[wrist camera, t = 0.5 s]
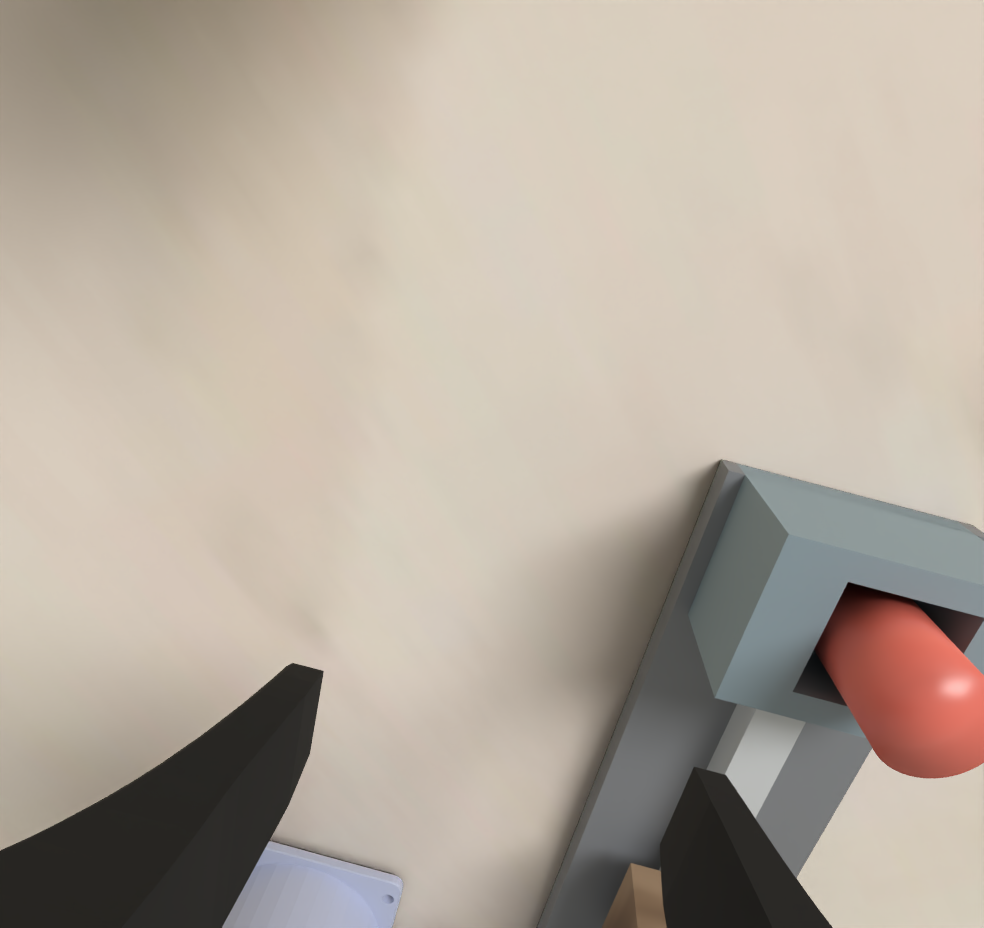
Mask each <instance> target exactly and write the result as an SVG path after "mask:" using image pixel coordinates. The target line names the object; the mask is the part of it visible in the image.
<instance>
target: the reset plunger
mask: <svg viewBox="0 0 984 928" xmlns="http://www.w3.org/2000/svg"><path fill="white" fill-rule="evenodd" d="M814 650H815V652H816V654H817V655H818V657H819V659H820V661H821V662H822V664H823V666H824V667H825V669H826V671H827V672H828V674H829V676H830V677H831V679H832V681H833V682H834V684H835V686H836V687H837V689H838V691H839V693H840V694H841V696H842V698H843V699H844V701H845V703H846V704H847V706H848V708H849V709H850V711H851V713H852V714H853V716H854V718H855V719H856V721H857V723H858V724H859V726H860V728H861V730H862V731H863V733H864V735H865V736H866V738H867V740H868V741H869V743H870V745H871V746H872V748H873V750H874V751H875V753H876V754H877V756H878V757H879V758H880V759H881V760H882V761H883V762H884V763H885V764H886V765H887V766H889V767H891V768H892V769H894V770H896V771H898V772H900V773H903V774H906V775H909V776H914V777H920V778H944V777H949V776H954V775H958V774H961V773H964V772H967V771H969V770H971V769H973V768H975V767H977V766H979V765H981V764H982V763H984V675H983V674H982V673H981V672H980V671H979V670H978V669H977V668H976V667H975V666H974V665H973V664H972V662H971V661H970V660H969V659H968V658H967V657H966V656H965V655H964V654H963V653H962V652H961V651H960V650H959V649H958V648H957V646H956V645H955V644H954V643H953V642H952V641H951V640H950V639H949V638H948V637H947V636H946V635H945V634H944V633H943V632H942V631H941V629H940V628H939V627H938V626H937V625H936V624H935V623H934V622H933V621H932V620H931V619H930V618H929V617H928V616H927V615H926V614H925V612H924V611H923V610H922V609H921V608H920V607H919V606H918V605H917V604H916V603H915V602H914V601H913V600H912V599H911V598H907V597H904V596H900V595H896V594H892V593H888V592H885V591H881V590H877V589H873V588H870V587H866V586H862V585H858V584H854V583H851V582H848V583H847V585H846V587H845V589H844V591H843V593H842V595H841V597H840V599H839V601H838V603H837V605H836V607H835V609H834V611H833V613H832V615H831V617H830V619H829V621H828V623H827V625H826V627H825V629H824V631H823V633H822V635H821V637H820V639H819V641H818V643H817V644H816V646H815V648H814Z"/></svg>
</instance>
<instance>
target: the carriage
mask: <svg viewBox="0 0 984 928" xmlns="http://www.w3.org/2000/svg"><path fill="white" fill-rule="evenodd" d="M602 928H667V926H666V920H665V914H664V907H663V897H662V882H661V871H659V870H655V869H652V868H648V867H644V866H641V865H637V864H633V863H630V866H629V868H628V870H627V872H626V875H625V877H624V879H623V881H622V884H621V886H620V888H619V890H618V893H617V895H616V897H615V899H614V901H613V904H612V906H611V908H610V910H609V913H608V915H607V917H606V919H605V922H604V924H603V926H602Z"/></svg>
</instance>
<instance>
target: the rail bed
mask: <svg viewBox="0 0 984 928" xmlns="http://www.w3.org/2000/svg"><path fill="white" fill-rule="evenodd" d="M848 582H851V583H854V584H858V585H862V586H866V587H870V588H873V589H877V590H881V591H885V592H888V593H892V594H896V595H900V596H904V597H907V598H911V599H912V600H913V601H914V602H915V603H916V604H917V605H918V606H919V607H920V608H921V609H922V610H923V611H924V612H925V614H926V615H927V616H928V617H929V618H930V619H931V620H932V621H933V622H934V623H935V624H936V625H937V626H938V627H939V628H940V629H941V631H942V632H943V633H944V634H945V635H946V636H947V637H948V638H949V639H950V640H951V641H952V642H953V643H954V644H955V645H956V646H957V648H958V649H959V650H960V651H961V652H962V653H963V654H964V655H965V656H966V657H967V658H968V659H969V660H970V661H971V662H972V664H973V665H974V666H975V667H976V668H977V669H978V670H979V671H980V672H981V673H982V674H983V675H984V533H983V532H981V531H980V530H979V529H977V528H976V527H975V526H973V525H969V524H965V523H961V522H958V521H954V520H950V519H946V518H942V517H939V516H935V515H931V514H927V513H923V512H920V511H916V510H912V509H908V508H904V507H901V506H897V505H893V504H889V503H885V502H882V501H878V500H874V499H870V498H866V497H862V496H859V495H855V494H851V493H847V492H843V491H840V490H836V489H832V488H828V487H824V486H821V485H817V484H813V483H809V482H805V481H802V480H798V479H794V478H790V477H786V476H782V475H779V474H775V473H771V472H767V471H763V470H760V469H756V468H752V467H748V466H744V465H741V464H737V463H733V462H729V461H725V460H722V459H721V461H720V464H719V466H718V469H717V471H716V474H715V476H714V479H713V481H712V484H711V487H710V489H709V492H708V494H707V497H706V499H705V502H704V504H703V507H702V509H701V512H700V515H699V517H698V520H697V522H696V525H695V527H694V530H693V532H692V535H691V537H690V540H689V542H688V545H687V548H686V550H685V553H684V555H683V558H682V560H681V563H680V565H679V568H678V570H677V573H676V576H675V578H674V581H673V583H672V586H671V588H670V591H669V593H668V596H667V598H666V601H665V603H664V606H663V609H662V611H661V614H660V616H659V619H658V621H657V624H656V626H655V629H654V631H653V634H652V636H651V639H650V642H649V644H648V647H647V649H646V652H645V654H644V657H643V659H642V662H641V664H640V667H639V670H638V672H637V675H636V677H635V680H634V682H633V685H632V687H631V690H630V692H629V695H628V697H627V700H626V703H625V705H624V708H623V710H622V713H621V715H620V718H619V720H618V723H617V725H616V728H615V730H614V733H613V736H612V738H611V741H610V743H609V746H608V748H607V751H606V753H605V756H604V758H603V761H602V764H601V766H600V769H599V771H598V774H597V776H596V779H595V781H594V784H593V786H592V789H591V791H590V794H589V797H588V799H587V802H586V804H585V807H584V809H583V812H582V814H581V817H580V819H579V822H578V824H577V827H576V830H575V832H574V835H573V837H572V840H571V842H570V845H569V847H568V850H567V852H566V855H565V858H564V860H563V863H562V865H561V868H560V870H559V873H558V875H557V878H556V880H555V883H554V885H553V888H552V891H551V893H550V896H549V898H548V901H547V903H546V906H545V908H544V911H543V913H542V916H541V918H540V921H539V924H538V926H537V928H602V926H603V924H604V922H605V919H606V917H607V915H608V913H609V910H610V908H611V906H612V904H613V901H614V899H615V897H616V895H617V893H618V890H619V888H620V886H621V884H622V881H623V879H624V877H625V875H626V872H627V870H628V868H629V866H630V863H633V864H637V865H641V866H644V867H648V868H652V869H655V870H659V871H661V861H660V843H661V841H662V838H663V836H664V834H665V831H666V829H667V827H668V825H669V822H670V820H671V818H672V816H673V813H674V811H675V809H676V806H677V804H678V802H679V800H680V797H681V795H682V793H683V790H684V788H685V786H686V784H687V781H688V779H689V777H690V775H691V772H692V770H693V768H694V767H698V768H701V769H705V770H709V771H713V772H717V773H721V774H725V775H726V776H727V777H728V779H729V780H730V782H731V783H732V784H733V786H734V787H735V789H736V790H737V792H738V793H739V795H740V796H741V798H742V799H743V801H744V802H745V804H746V805H747V807H748V808H749V810H750V811H751V813H752V814H753V816H754V817H755V819H756V820H757V822H758V823H759V825H760V826H761V828H762V829H763V831H764V832H765V834H766V835H767V837H768V838H769V840H770V841H771V843H772V844H773V846H774V847H775V849H776V850H777V851H778V853H779V854H780V856H781V857H782V859H783V860H784V862H785V863H786V865H787V866H788V867H789V869H790V870H791V872H792V873H793V875H794V876H795V877H796V878H797V876H798V874H799V873H800V871H801V869H802V867H803V866H804V864H805V862H806V860H807V859H808V857H809V855H810V854H811V852H812V850H813V848H814V847H815V845H816V843H817V842H818V840H819V838H820V836H821V835H822V833H823V831H824V830H825V828H826V826H827V824H828V823H829V821H830V819H831V818H832V816H833V814H834V812H835V811H836V809H837V807H838V806H839V804H840V802H841V800H842V799H843V797H844V795H845V794H846V792H847V790H848V788H849V787H850V785H851V783H852V782H853V780H854V778H855V776H856V775H857V773H858V771H859V770H860V768H861V766H862V764H863V763H864V761H865V759H866V758H867V756H868V754H869V752H870V751H871V749H872V746H871V745H870V743H869V741H868V740H867V738H866V736H865V735H864V733H863V731H862V730H861V728H860V726H859V724H858V723H857V721H856V719H855V718H854V716H853V714H852V713H851V711H850V709H849V708H848V706H847V704H846V703H845V701H844V699H843V698H842V696H841V694H840V693H839V691H838V689H837V687H836V686H835V684H834V682H833V681H832V679H831V677H830V676H829V674H828V672H827V671H826V669H825V667H824V666H823V664H822V662H821V661H820V659H819V657H818V655H817V654H816V652H815V650H814V648H815V646H816V644H817V643H818V641H819V639H820V637H821V635H822V633H823V631H824V629H825V627H826V625H827V623H828V621H829V619H830V617H831V615H832V613H833V611H834V609H835V607H836V605H837V603H838V601H839V599H840V597H841V595H842V593H843V591H844V589H845V587H846V585H847V583H848Z"/></svg>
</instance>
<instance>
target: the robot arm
mask: <svg viewBox="0 0 984 928" xmlns="http://www.w3.org/2000/svg"><path fill="white" fill-rule="evenodd" d="M323 672H324V671H322V670H318V669H314V668H310V667H306V666H302V665H298V664H294V663H292V664H290V665H288V666H286V667H285V668H284V669H283V670H282V671H281V672H280V673H278V674H277V675H276V676H275V677H274V678H273V679H272V680H270V681H269V682H268V683H267V684H266V685H265V686H263V687H262V688H261V689H260V690H259V691H258V692H256V693H255V694H254V695H253V696H252V697H250V698H249V699H248V700H247V701H245V702H244V703H243V704H242V705H241V706H239V707H238V708H237V709H235V710H234V711H233V712H232V713H230V714H229V715H228V716H226V717H225V718H224V719H222V720H221V721H220V722H219V723H217V724H216V725H215V726H213V727H212V728H211V729H209V730H208V731H207V732H205V733H204V734H203V735H201V736H200V737H199V738H197V739H196V740H194V741H193V742H191V743H190V744H189V745H187V746H186V747H184V748H183V749H181V750H180V751H178V752H177V753H176V754H174V755H173V756H171V757H170V758H168V759H167V760H166V761H164V762H163V763H161V764H160V765H158V766H157V767H155V768H153V769H152V770H150V771H149V772H147V773H146V774H144V775H142V776H141V777H139V778H138V779H136V780H134V781H133V782H131V783H130V784H128V785H126V786H124V787H123V788H121V789H119V790H118V791H116V792H114V793H113V794H111V795H109V796H108V797H106V798H104V799H102V800H100V801H99V802H97V803H95V804H93V805H91V806H89V807H88V808H86V809H84V810H82V811H80V812H78V813H76V814H75V815H73V816H71V817H69V818H67V819H65V820H63V821H62V822H60V823H58V824H56V825H54V826H52V827H50V828H48V829H46V830H44V831H42V832H40V833H38V834H36V835H34V836H32V837H29V838H27V839H25V840H23V841H21V842H18V843H16V844H14V845H12V846H10V847H7V848H5V849H3V850H1V851H0V928H392V927H393V923H394V919H395V916H396V912H397V908H398V905H399V901H400V898H401V894H402V890H403V882H402V880H401V879H400V878H399V877H398V876H395V875H393V874H389V873H385V872H382V871H378V870H374V869H371V868H367V867H363V866H360V865H356V864H352V863H349V862H345V861H341V860H338V859H334V858H330V857H327V856H323V855H319V854H316V853H312V852H308V851H305V850H301V849H297V848H294V847H290V846H287V845H283V844H279V843H276V842H272V841H269V840H270V838H271V837H272V835H273V833H274V831H275V829H276V827H277V826H278V824H279V822H280V820H281V818H282V816H283V814H284V813H285V811H286V809H287V807H288V805H289V802H290V800H291V798H292V795H293V793H294V791H295V788H296V786H297V784H298V781H299V779H300V776H301V774H302V771H303V769H304V766H305V764H306V762H307V759H308V757H309V754H310V749H311V743H312V737H313V731H314V725H315V719H316V714H317V708H318V702H319V696H320V690H321V684H322V678H323ZM660 861H661V882H662V897H663V907H664V914H665V920H666V926H667V928H832V926H831V925H830V924H829V922H828V921H827V920H826V918H825V917H824V916H823V915H822V913H821V912H820V911H819V909H818V908H817V907H816V905H815V904H814V902H813V901H812V900H811V898H810V897H809V896H808V894H807V893H806V891H805V890H804V889H803V887H802V886H801V884H800V883H799V882H798V880H797V879H796V877H795V876H794V875H793V873H792V872H791V870H790V869H789V867H788V866H787V865H786V863H785V862H784V860H783V859H782V857H781V856H780V854H779V853H778V851H777V850H776V849H775V847H774V846H773V844H772V843H771V841H770V840H769V838H768V837H767V835H766V834H765V832H764V831H763V829H762V828H761V826H760V825H759V823H758V822H757V820H756V819H755V817H754V816H753V814H752V813H751V811H750V810H749V808H748V807H747V805H746V804H745V802H744V801H743V799H742V798H741V796H740V795H739V793H738V792H737V790H736V789H735V787H734V786H733V784H732V783H731V782H730V780H729V779H728V777H727V776H726V775H725V774H721V773H717V772H713V771H709V770H705V769H701V768H698V767H694V768H693V770H692V772H691V775H690V777H689V779H688V781H687V784H686V786H685V788H684V790H683V793H682V795H681V797H680V800H679V802H678V804H677V806H676V809H675V811H674V813H673V816H672V818H671V820H670V822H669V825H668V827H667V829H666V831H665V834H664V836H663V838H662V841H661V843H660Z"/></svg>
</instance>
